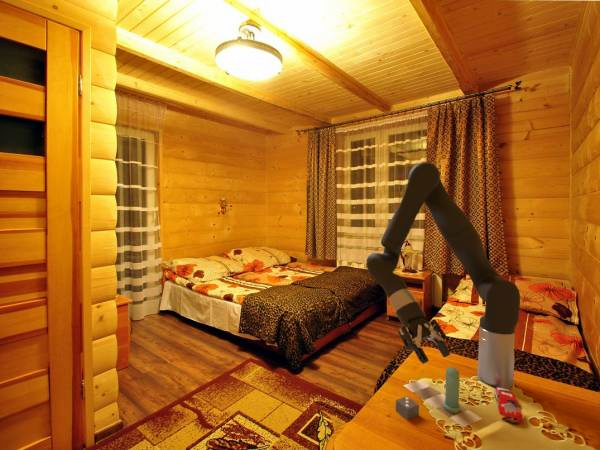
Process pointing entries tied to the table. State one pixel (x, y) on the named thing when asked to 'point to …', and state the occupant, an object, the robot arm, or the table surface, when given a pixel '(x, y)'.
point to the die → (407, 408)
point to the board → (441, 403)
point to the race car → (508, 406)
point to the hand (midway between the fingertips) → (436, 359)
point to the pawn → (452, 391)
